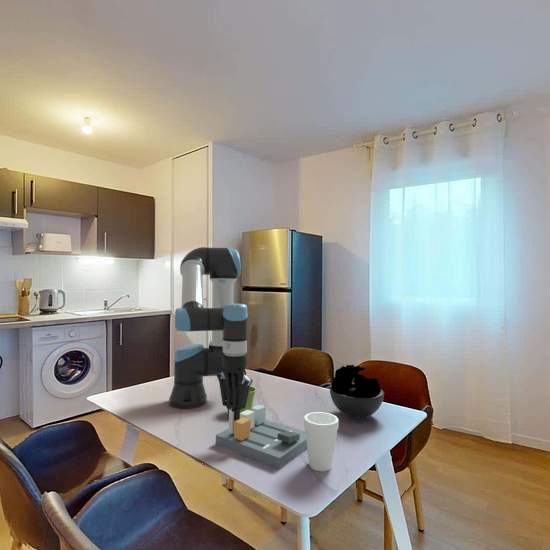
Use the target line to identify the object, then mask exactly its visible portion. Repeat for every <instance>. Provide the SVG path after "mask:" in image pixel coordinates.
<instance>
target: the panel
mask: <svg viewBox="0 0 550 550" xmlns="http://www.w3.org/2000/svg"><path fill="white" fill-rule="evenodd" d="M286 431H290V432H294V433H297V434H300V437H299V440H297V441H294V442H290V443H287V442H284V441H281V440H278V439H277V436H278V433H282V432H286ZM215 445H216V446H218V447H221V448H224V449H226V450H229V451H231V452H234V453H237V454H239V455H242V456H244V457H247V458H249V459H252V460H255V461H258V462H260V463H262V464H265V465H268V466H270V467H273V468H276V469H278V470H280V469H282V468H283V467H284V466H285V465H287V464H288V463H290V462H292V460H293V459H295V458H297V457H298V456H299V455H300V454H301V453H303V452H304V451H306V450H307V442H306V433H305V430H302V429H298V428H295V427H292V426H288V425H285V424H281V423H278V422H274V421H272V420H267V419H265V422H263V423H261V424H259V425H256V424H254V428H252V429H250V437H248V438H246V439H244V440H242V441H241V440H238V439H235V438H234V432H229V428H227V429H226V430H223V431H221V432H219V433H217V434H215Z"/></svg>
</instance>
